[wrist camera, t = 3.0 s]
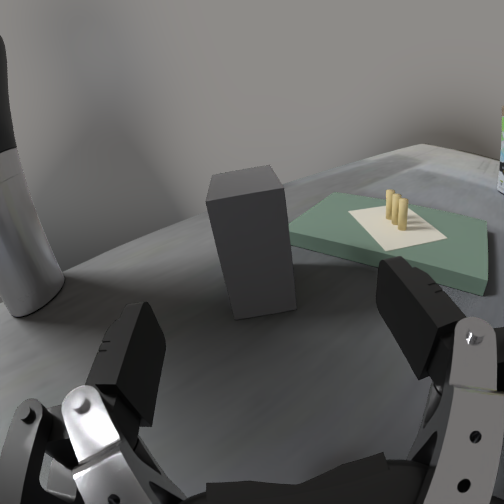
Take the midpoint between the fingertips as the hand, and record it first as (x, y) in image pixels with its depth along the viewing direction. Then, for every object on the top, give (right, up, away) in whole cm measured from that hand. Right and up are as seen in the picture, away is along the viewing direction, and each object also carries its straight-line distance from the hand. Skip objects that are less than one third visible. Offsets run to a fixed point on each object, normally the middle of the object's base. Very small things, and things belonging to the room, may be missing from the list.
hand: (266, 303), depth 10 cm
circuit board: (+14, +3, +17) cm, 22 cm away
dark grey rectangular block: (0, -1, +14) cm, 14 cm away
